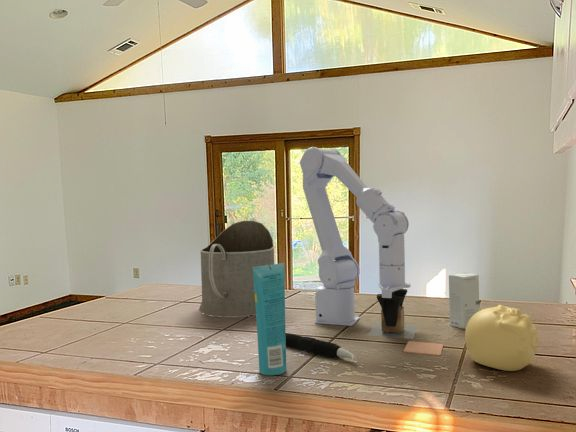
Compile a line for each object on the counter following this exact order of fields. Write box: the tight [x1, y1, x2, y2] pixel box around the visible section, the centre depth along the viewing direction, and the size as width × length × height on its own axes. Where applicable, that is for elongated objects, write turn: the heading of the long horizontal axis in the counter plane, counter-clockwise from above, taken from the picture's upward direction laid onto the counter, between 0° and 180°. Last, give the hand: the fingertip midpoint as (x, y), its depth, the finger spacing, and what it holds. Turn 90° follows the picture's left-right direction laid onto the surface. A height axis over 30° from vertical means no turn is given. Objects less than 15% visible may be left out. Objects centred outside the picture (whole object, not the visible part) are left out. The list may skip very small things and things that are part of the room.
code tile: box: [366, 323, 419, 340], centre depth 107 cm, size 10×10×1 cm
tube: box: [253, 262, 287, 376], centre depth 84 cm, size 7×5×19 cm, turn 140°
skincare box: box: [448, 272, 480, 330], centre depth 111 cm, size 6×4×12 cm
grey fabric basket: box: [198, 220, 275, 318], centre depth 132 cm, size 23×32×25 cm
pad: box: [402, 340, 444, 357], centre depth 94 cm, size 7×7×1 cm
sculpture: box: [464, 304, 539, 372], centre depth 84 cm, size 12×12×11 cm
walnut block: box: [380, 305, 405, 333], centre depth 107 cm, size 4×4×5 cm
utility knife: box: [285, 332, 356, 361], centre depth 94 cm, size 22×4×3 cm, turn 48°
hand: (392, 323), depth 107 cm, fingers closed on walnut block, 4 cm apart
